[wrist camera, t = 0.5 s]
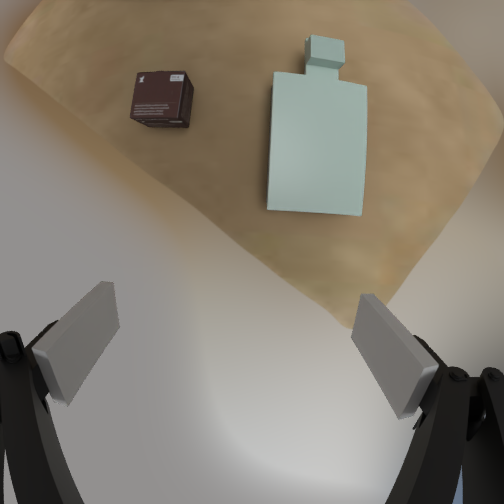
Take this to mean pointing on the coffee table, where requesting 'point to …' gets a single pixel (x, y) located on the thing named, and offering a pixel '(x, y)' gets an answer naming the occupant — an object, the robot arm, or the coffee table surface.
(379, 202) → the coffee table surface
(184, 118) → the box
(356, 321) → the robot arm
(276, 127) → the lid
